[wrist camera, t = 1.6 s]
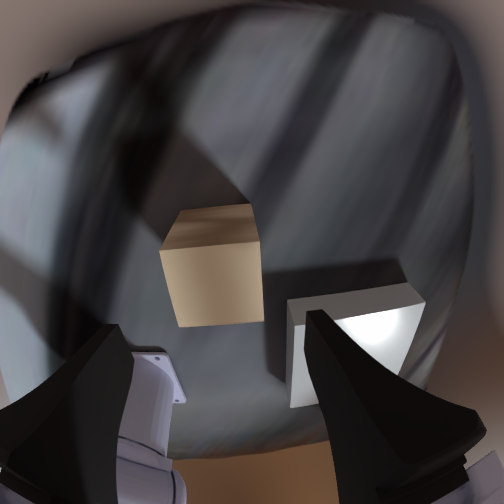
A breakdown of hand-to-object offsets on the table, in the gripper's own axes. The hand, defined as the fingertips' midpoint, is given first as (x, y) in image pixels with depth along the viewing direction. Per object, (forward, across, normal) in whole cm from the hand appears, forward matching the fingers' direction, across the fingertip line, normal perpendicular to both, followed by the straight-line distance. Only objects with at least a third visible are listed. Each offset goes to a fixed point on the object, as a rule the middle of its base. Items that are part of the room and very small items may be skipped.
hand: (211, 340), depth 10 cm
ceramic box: (+10, -10, +11) cm, 18 cm away
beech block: (+10, 0, 0) cm, 10 cm away
